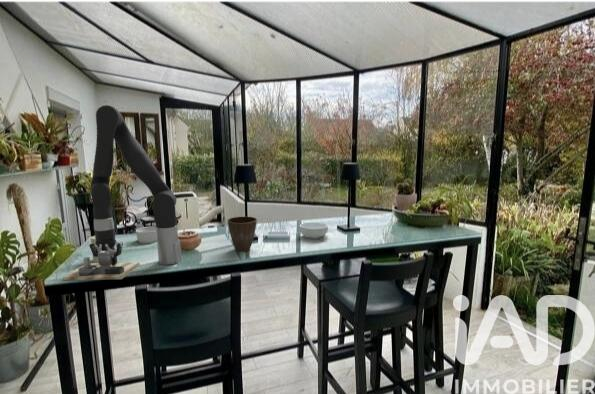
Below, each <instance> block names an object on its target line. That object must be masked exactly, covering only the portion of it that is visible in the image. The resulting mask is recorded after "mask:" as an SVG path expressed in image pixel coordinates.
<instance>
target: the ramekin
mask: <svg viewBox="0 0 595 394" xmlns="http://www.w3.org/2000/svg"><path fill="white" fill-rule="evenodd" d="M135 234H136V238H137V241H138V242H139V243H140V244H152V243H157V233H156V225H155V226H144V227H143V226H142V227H140V228H137V229H136V230H135Z"/></svg>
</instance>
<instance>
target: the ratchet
mask: <svg viewBox="0 0 595 394" xmlns="http://www.w3.org/2000/svg"><path fill="white" fill-rule="evenodd" d="M82 259H83V265H84V266H83V265H82V266H83V267H81V266H80V267H81V268H80V267H78V268H79V269H78V268H77V269H78V270H79V276H89V275H93V274H122V273H123V272H124V267H97V266H96V265H90V263H91V259H90V256H85V257H84V258H82Z"/></svg>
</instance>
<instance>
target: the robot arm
mask: <svg viewBox="0 0 595 394" xmlns="http://www.w3.org/2000/svg"><path fill="white" fill-rule="evenodd" d="M95 121H96V143H95V144H96V145H95V152H94V153H95V154H94V159H93V170H92V173H93V174H92V178H91V183H90V190H89V191H90V192H89V193H90V194H91V198H92V205H93V207H92V214H93V230H94V236H95V239H96V243H91V242H90V244H89V245H88V246H89V249H90V250H91V253H92V254H91V255H92V257H93V256H94V257H98V258H99V254H102V253H103V252H105V251H108V252H109V253H110V254H111V257H112V266H115V265H116V264H117V263H118V257H119V256H120V255H122V251H123V245H124V243H123V241H120V242H118V241H117V240H116V232H115V222H114V218H113V217H114V216H113V210H112V204H111V203H112V194H111V189H110V180H111V176H112V173H113V168H114V158H115V157H114V156H115V155H114V154H115V153H114V151H115V150H114V141H115V142H116V144H117V147H118V149H119V151H120V153H121V155H122V157H123V159H124V161H125V162H126V164H127V166H128V167H129V168H130V170H131V171H132V173H133V174H134V175H135V176H136V177H137V178H138V180H140V181H141V183H143V184H144V185H145V186H146V187H147V189H148V190H149V191H150V193H151V195H152V197H153V199H152V209H153V219H154V223H155V226H156V233H157V242H156V243H157V244H156V245H157V259H158V264H160V265H162V266H163V265H164V266H166V265H167V266H168V265H175V264H176V265H177V264H178V263H179V262H180V261H181V260H182V251H181V249H182V248H181V240H180V239H179V229H178V219H177V214H176V204H177V197H176V195H175V194H174V192H173V190H172V189H170V188H169V186H168V185H167V183H166V182H165V181H164V180H163V178H162V177H161V175H160V173H159V171H158V169H157V167H156V166H155V165H154V163H153V161H152V159H151V158H150V156H149V154H148V153H147V152H146V150H145V149H144V148H143V146H142V145H141V143H140V142H139V141H138V140H137V138H135V137H134V135H133V134H132V132H131V130H130V129H129V127H128V125H127V123H126V121H125V119H124V117H123V115H122V113H121V112H120V111H119V110H118V109H117V108H116V107H114V106H112V105H107V104H105V105H101V106H100V107H99V108H98V109H97V110H96V112H95ZM97 246H98V247H99V250H98V249H97ZM99 264H100V260H99Z"/></svg>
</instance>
